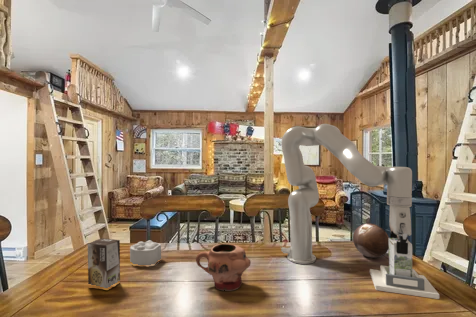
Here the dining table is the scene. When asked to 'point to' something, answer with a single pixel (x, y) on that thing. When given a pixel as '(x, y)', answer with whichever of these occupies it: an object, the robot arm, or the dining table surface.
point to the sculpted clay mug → (225, 265)
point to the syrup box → (399, 259)
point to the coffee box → (104, 262)
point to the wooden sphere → (371, 240)
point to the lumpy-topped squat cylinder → (145, 253)
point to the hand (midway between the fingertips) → (398, 248)
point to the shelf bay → (402, 283)
